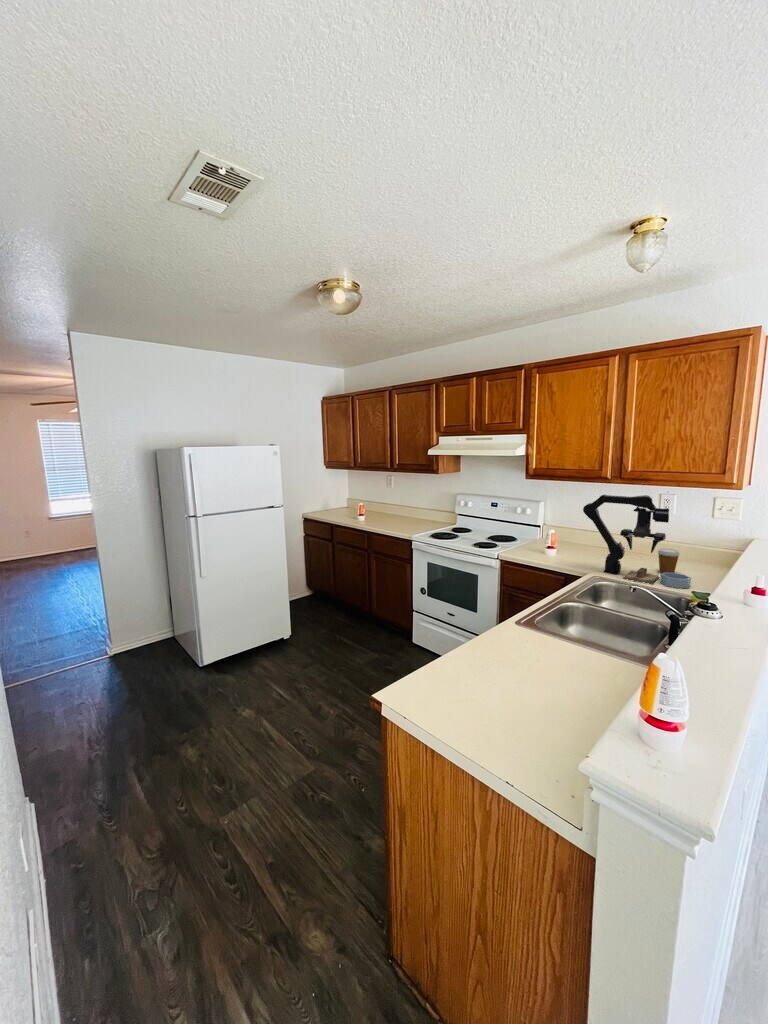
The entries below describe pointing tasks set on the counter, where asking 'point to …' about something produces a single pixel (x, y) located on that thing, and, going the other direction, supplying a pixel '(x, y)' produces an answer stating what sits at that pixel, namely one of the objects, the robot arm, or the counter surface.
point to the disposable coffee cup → (668, 560)
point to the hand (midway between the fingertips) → (641, 551)
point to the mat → (642, 581)
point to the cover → (641, 575)
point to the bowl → (675, 580)
